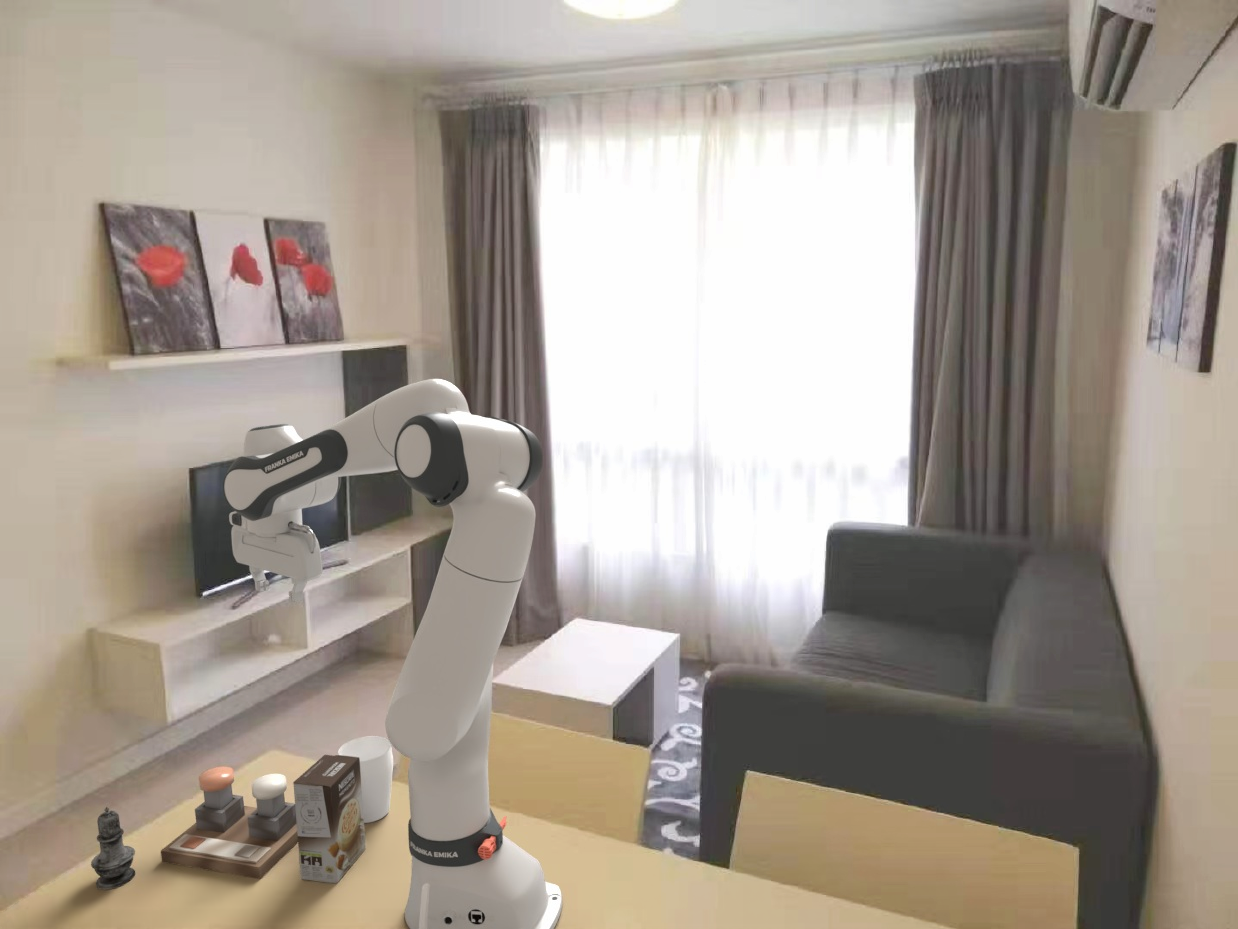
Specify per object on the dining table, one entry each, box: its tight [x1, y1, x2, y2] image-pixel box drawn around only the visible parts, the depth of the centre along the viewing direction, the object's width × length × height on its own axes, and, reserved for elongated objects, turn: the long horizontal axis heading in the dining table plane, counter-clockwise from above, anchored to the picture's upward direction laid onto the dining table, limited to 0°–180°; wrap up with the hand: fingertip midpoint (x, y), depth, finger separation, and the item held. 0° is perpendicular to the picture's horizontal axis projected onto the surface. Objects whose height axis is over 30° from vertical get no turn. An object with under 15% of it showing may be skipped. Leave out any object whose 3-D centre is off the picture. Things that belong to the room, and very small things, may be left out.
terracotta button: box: [198, 766, 235, 810], centre depth 145 cm, size 5×5×5 cm
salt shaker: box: [90, 806, 136, 891], centre depth 134 cm, size 6×6×12 cm
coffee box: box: [292, 754, 366, 884], centre depth 136 cm, size 9×6×16 cm
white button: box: [251, 773, 288, 818], centre depth 142 cm, size 5×5×5 cm
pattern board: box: [160, 794, 298, 880], centre depth 143 cm, size 18×14×6 cm
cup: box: [337, 735, 394, 824], centre depth 150 cm, size 9×9×12 cm
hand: (279, 595), depth 152 cm, fingers open, 8 cm apart
